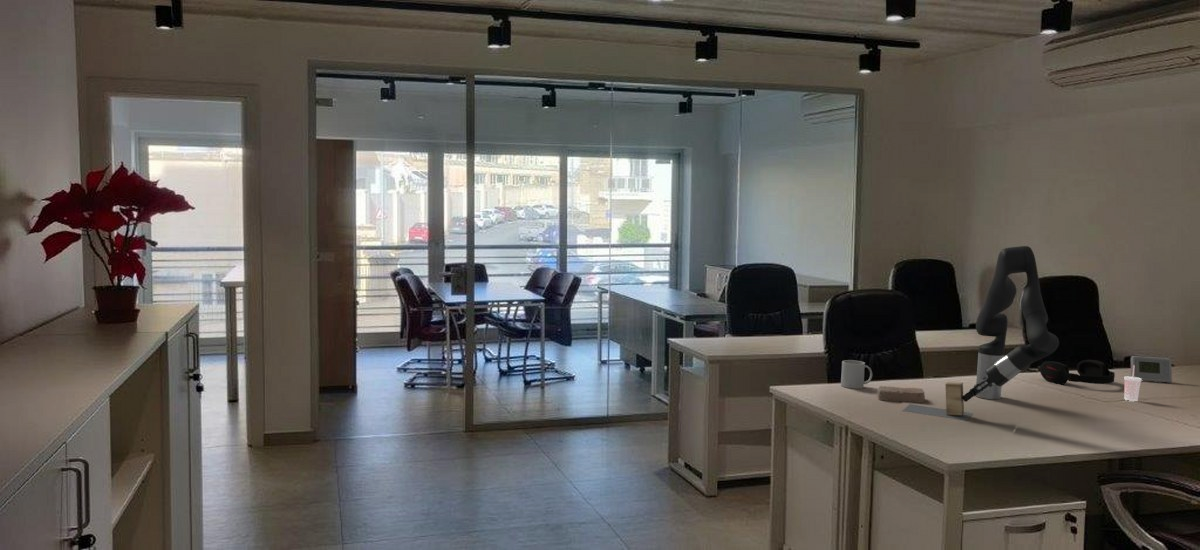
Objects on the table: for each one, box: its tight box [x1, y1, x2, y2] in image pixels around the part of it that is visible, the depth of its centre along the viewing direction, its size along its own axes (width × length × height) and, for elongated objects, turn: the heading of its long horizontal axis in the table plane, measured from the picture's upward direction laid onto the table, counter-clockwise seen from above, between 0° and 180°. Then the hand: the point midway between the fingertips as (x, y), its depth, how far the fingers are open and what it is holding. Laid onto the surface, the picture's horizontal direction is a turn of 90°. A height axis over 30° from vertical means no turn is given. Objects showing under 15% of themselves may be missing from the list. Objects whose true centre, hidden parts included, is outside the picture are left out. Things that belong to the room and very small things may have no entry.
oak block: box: [944, 381, 965, 416], centre depth 313 cm, size 5×5×11 cm
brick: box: [877, 385, 926, 403], centre depth 337 cm, size 17×8×5 cm, turn 77°
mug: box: [840, 359, 873, 390], centre depth 357 cm, size 11×10×10 cm
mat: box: [901, 403, 974, 422], centre depth 317 cm, size 13×22×1 cm, turn 59°
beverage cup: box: [1123, 365, 1143, 402], centre depth 349 cm, size 6×6×14 cm
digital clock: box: [1130, 355, 1173, 384], centre depth 391 cm, size 16×9×11 cm, turn 64°
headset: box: [1039, 359, 1116, 385], centre depth 383 cm, size 30×28×9 cm
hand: (963, 399), depth 312 cm, fingers closed
